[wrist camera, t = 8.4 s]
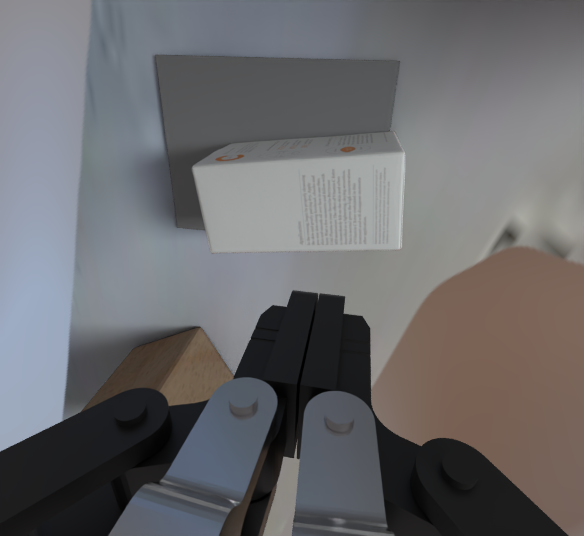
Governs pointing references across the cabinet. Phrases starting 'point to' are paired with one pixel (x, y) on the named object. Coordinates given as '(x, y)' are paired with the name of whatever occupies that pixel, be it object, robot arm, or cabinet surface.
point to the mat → (263, 107)
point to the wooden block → (170, 370)
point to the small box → (304, 194)
